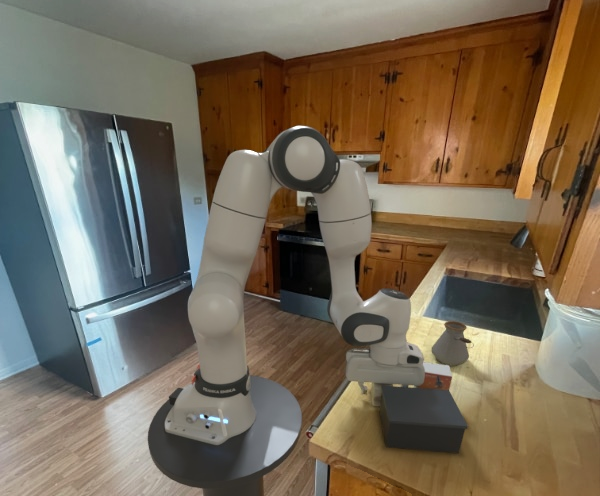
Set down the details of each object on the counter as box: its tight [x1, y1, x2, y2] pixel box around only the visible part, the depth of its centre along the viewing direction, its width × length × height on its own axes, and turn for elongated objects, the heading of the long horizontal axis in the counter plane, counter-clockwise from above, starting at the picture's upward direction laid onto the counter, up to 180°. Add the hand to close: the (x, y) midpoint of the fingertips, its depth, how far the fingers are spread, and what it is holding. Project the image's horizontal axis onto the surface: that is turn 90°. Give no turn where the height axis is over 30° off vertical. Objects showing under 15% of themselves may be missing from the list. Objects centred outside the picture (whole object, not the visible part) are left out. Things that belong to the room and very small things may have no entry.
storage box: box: [379, 385, 469, 454], centre depth 78 cm, size 17×13×8 cm
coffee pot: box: [431, 320, 475, 367], centre depth 103 cm, size 21×12×15 cm, turn 169°
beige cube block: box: [370, 383, 394, 407], centre depth 89 cm, size 5×6×6 cm
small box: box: [413, 361, 453, 391], centre depth 88 cm, size 8×6×10 cm
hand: (381, 394), depth 90 cm, fingers open, 8 cm apart
